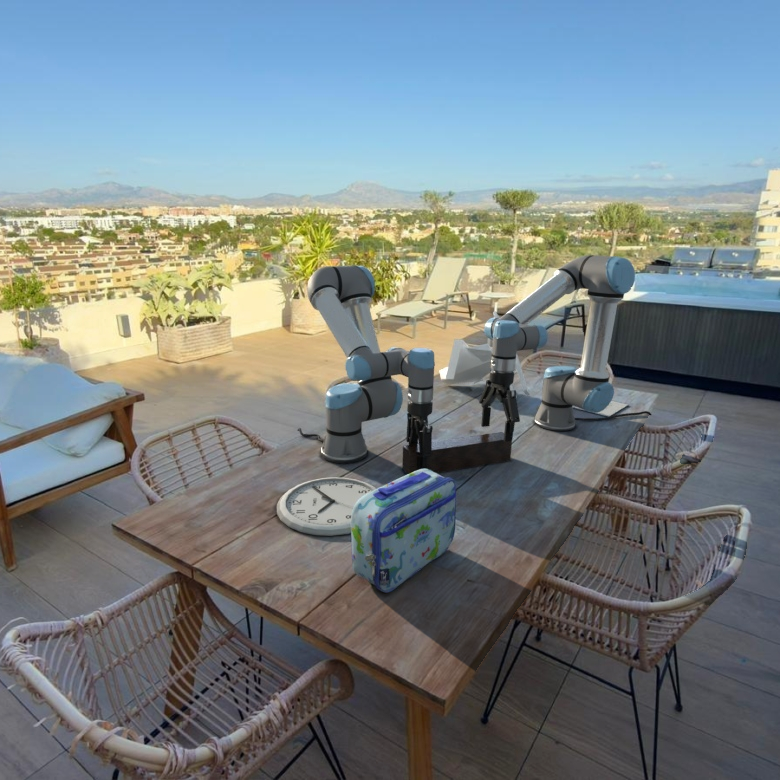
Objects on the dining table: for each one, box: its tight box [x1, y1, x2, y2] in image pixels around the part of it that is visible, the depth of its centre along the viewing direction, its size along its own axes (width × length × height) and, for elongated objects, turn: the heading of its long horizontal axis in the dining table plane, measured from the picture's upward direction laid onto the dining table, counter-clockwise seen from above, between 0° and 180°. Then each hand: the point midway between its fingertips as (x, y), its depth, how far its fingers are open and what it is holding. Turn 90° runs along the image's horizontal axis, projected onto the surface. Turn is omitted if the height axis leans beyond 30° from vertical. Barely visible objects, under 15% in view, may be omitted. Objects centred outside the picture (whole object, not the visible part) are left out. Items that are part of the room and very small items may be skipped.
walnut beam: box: [401, 431, 513, 475], centre depth 167 cm, size 36×6×8 cm, turn 111°
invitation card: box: [573, 400, 629, 417], centre depth 226 cm, size 21×1×15 cm
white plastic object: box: [438, 310, 531, 399], centre depth 245 cm, size 37×45×31 cm
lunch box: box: [350, 469, 457, 593], centre depth 114 cm, size 26×11×21 cm, turn 134°
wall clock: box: [276, 476, 378, 537], centre depth 142 cm, size 30×2×30 cm
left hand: (417, 470), depth 164 cm, fingers closed on walnut beam, 6 cm apart
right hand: (496, 433), depth 171 cm, fingers open, 13 cm apart
